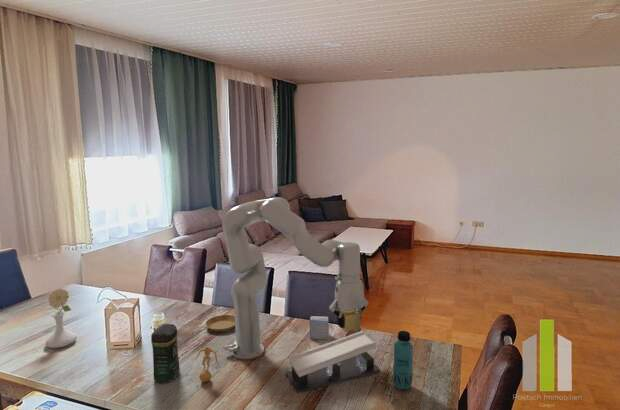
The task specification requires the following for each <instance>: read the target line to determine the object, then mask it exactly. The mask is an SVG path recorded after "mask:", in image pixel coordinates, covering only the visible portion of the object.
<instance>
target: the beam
mask: <svg viewBox="0 0 620 410" xmlns="http://www.w3.org/2000/svg"><path fill="white" fill-rule="evenodd" d="M376 348H377V346H376V341H373V340H371V338H369V337H368V336H367V335H366V334H365V332H364V331H363V330H361V331H358V332H355V333H352V334H349V335H346V336H344V337H341V338H338V339H336V340H334V341H330V342H327V343H324V344H322V345H318V346H316V347H313V348H311V349H308V350H305V351H302V352H300V353H296V354H294V355H291V356H289V357H288V359H289V364H290V365H291V368H292V367H293V368H294V370H295V371H296V373H297V375H298V376H299V377H301V376H304V375H306V374H309V373H311V372H314V371H317V370H319V369H322V368H325V367H327V366H330V365H333V364H335V363H338V362H340V361H343V360H346V359H348V358H351V357H354V356H356V355H359V354H361V353H364V352H367V353H368V351H373V350H375V349H376Z"/></svg>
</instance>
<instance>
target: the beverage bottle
mask: <svg viewBox="0 0 620 410" xmlns="http://www.w3.org/2000/svg"><path fill="white" fill-rule="evenodd" d="M393 346H394V347H393V363H392V368H393V369H392V384H393V386H395V387H396V388H398V389H401V390H407V389H410V388H411V387H412V385H413V384H412V383H413V367H414V366H413V363H414V360H413V356H414V355H413V354H414V345H413V343H412V342H411V333H410V332H409V331H407V330H400V331H398V333H397V340H396V341H395V342H394V343H393Z"/></svg>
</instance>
